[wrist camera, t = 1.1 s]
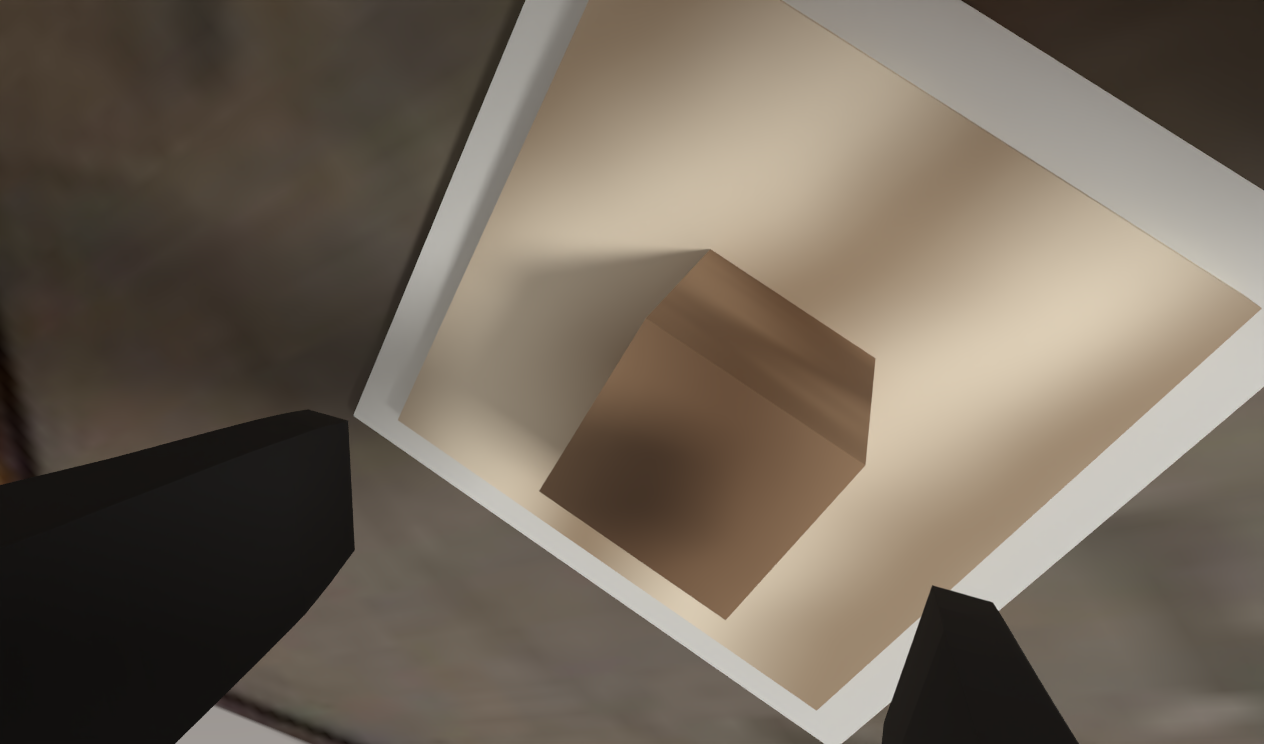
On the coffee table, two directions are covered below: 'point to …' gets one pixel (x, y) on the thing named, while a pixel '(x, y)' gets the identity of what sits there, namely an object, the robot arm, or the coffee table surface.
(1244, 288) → the mat
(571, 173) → the cover board
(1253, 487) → the coffee table surface
